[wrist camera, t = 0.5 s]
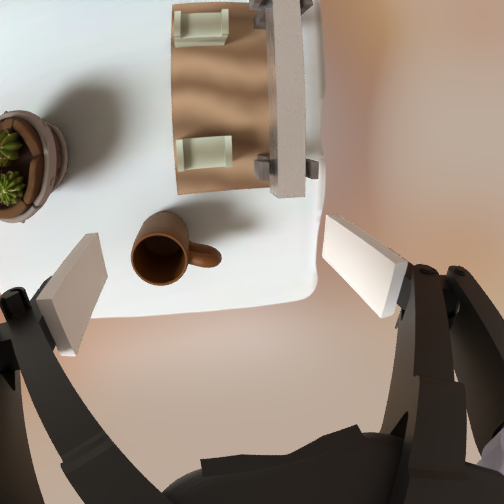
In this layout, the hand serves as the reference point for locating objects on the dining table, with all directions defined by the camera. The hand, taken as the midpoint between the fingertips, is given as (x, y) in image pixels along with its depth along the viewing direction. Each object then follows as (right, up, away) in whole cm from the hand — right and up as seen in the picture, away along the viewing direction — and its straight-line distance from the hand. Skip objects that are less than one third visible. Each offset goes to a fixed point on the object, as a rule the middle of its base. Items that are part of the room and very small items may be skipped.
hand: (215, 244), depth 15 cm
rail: (+5, +20, +13) cm, 24 cm away
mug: (-9, +2, +27) cm, 29 cm away
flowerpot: (-30, +14, +17) cm, 38 cm away
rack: (0, +23, +20) cm, 30 cm away
